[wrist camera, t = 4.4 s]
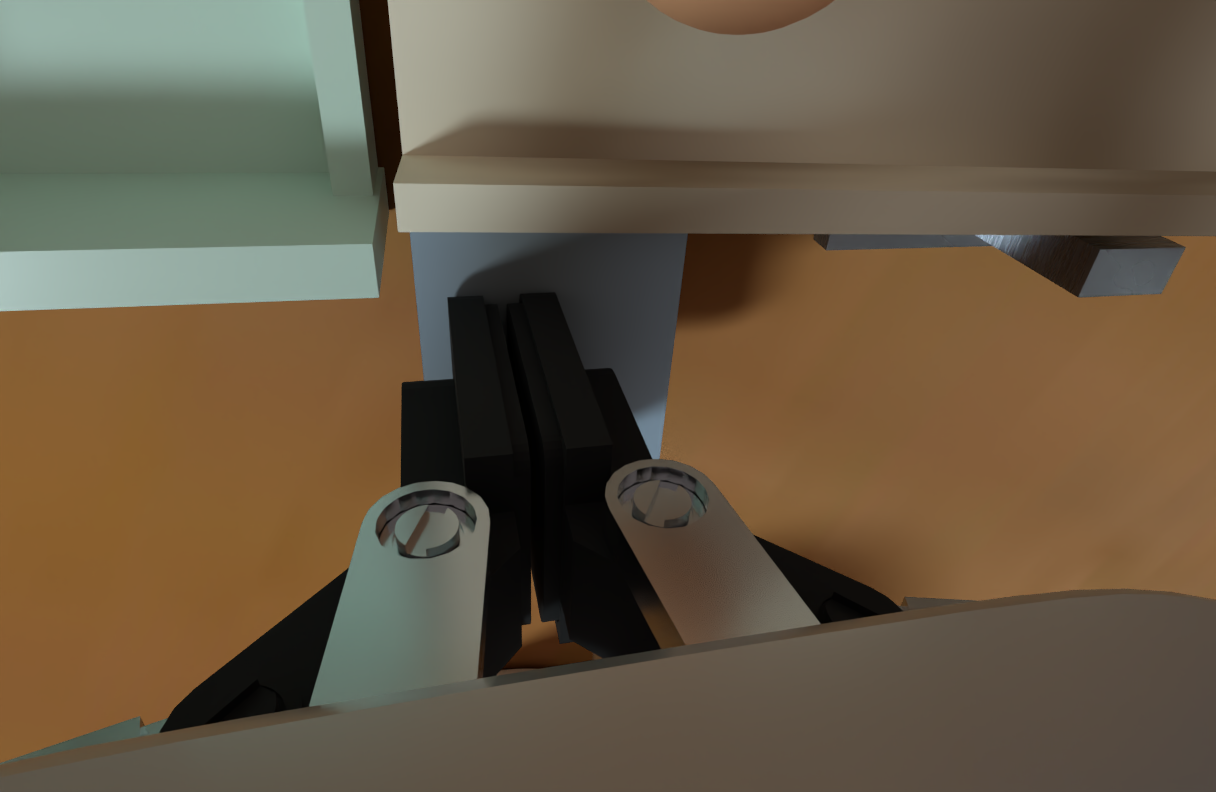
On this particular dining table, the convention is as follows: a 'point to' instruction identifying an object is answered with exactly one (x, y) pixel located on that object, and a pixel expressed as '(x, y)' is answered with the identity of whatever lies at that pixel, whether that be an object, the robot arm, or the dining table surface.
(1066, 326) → the dining table surface
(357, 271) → the tray
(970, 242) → the fulcrum
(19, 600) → the dining table surface
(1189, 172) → the lever
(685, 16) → the ball
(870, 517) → the dining table surface
